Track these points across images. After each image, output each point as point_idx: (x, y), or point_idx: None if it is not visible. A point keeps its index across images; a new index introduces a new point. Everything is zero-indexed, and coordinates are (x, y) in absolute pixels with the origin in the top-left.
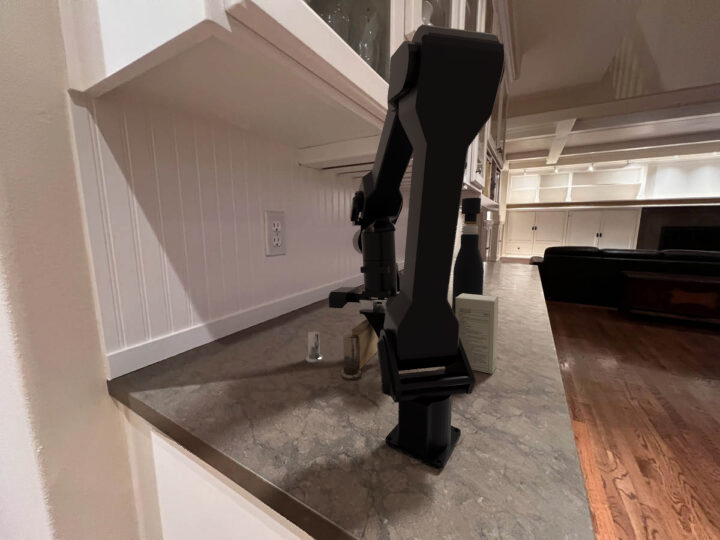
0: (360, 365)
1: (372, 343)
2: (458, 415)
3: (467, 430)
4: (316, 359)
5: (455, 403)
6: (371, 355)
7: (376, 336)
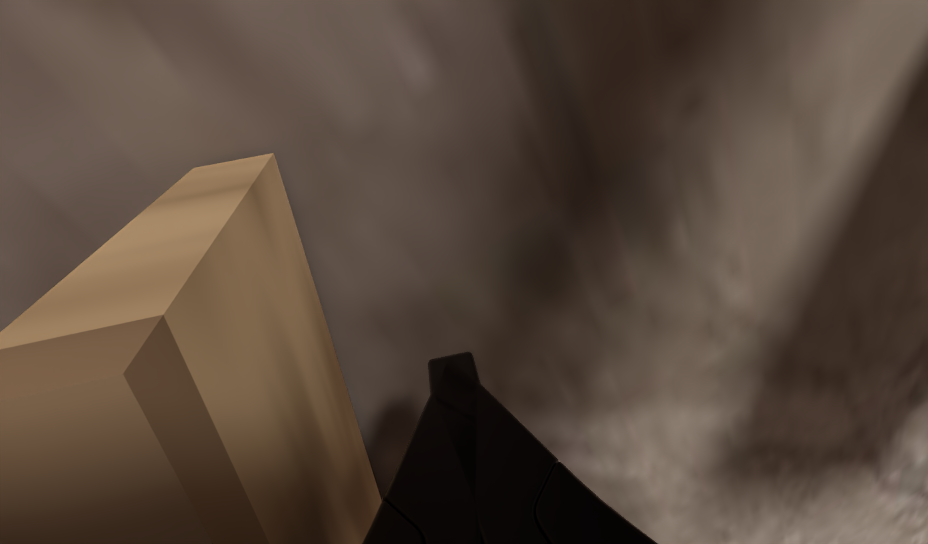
0: None
1: (313, 384)
2: (904, 499)
3: (921, 539)
4: None
5: (903, 446)
6: (328, 343)
7: (271, 297)
